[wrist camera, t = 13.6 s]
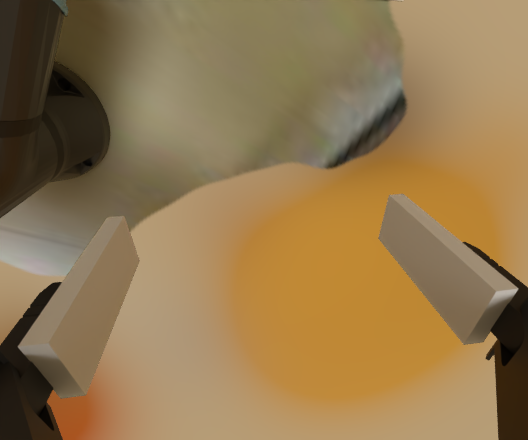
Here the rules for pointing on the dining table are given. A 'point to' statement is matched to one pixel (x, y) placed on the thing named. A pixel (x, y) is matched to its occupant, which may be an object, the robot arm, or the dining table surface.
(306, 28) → the dining table surface
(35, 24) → the robot arm
